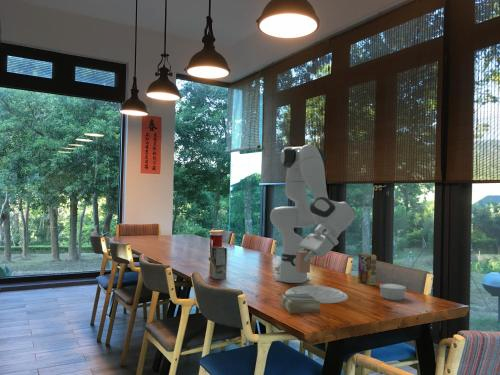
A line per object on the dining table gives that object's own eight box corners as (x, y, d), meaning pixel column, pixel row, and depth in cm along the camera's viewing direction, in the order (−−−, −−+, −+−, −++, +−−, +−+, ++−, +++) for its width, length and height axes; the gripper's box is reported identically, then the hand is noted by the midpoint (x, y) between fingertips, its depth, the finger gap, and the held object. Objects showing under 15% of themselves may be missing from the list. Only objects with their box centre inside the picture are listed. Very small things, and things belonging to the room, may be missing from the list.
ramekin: (377, 294, 185) (377, 282, 185) (401, 295, 184) (402, 283, 184) (382, 300, 174) (382, 288, 174) (408, 301, 173) (409, 289, 173)
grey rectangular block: (295, 270, 161) (296, 250, 161) (305, 270, 162) (306, 250, 162) (299, 272, 156) (299, 252, 156) (309, 272, 157) (310, 252, 157)
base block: (280, 304, 163) (280, 293, 163) (308, 303, 166) (308, 292, 166) (290, 312, 151) (290, 301, 151) (319, 311, 154) (319, 300, 154)
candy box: (376, 284, 204) (376, 255, 204) (370, 285, 202) (370, 255, 202) (363, 281, 212) (364, 252, 212) (357, 282, 210) (358, 253, 210)
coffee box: (226, 278, 210) (227, 248, 210) (215, 279, 207) (216, 248, 207) (219, 275, 218) (220, 246, 218) (209, 276, 215) (209, 246, 215)
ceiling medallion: (300, 306, 163) (300, 298, 163) (276, 289, 190) (276, 283, 190) (360, 302, 171) (360, 295, 171) (329, 287, 198) (329, 281, 198)
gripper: (310, 227, 171) (287, 250, 168) (330, 231, 151) (305, 257, 149) (319, 237, 172) (297, 260, 169) (340, 243, 152) (316, 269, 150)
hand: (301, 259), depth 159 cm, fingers closed on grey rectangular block, 4 cm apart
